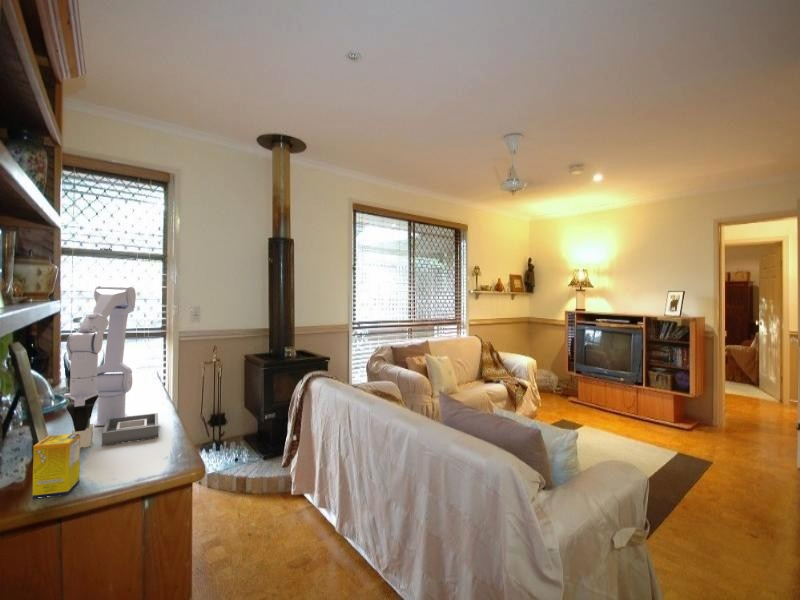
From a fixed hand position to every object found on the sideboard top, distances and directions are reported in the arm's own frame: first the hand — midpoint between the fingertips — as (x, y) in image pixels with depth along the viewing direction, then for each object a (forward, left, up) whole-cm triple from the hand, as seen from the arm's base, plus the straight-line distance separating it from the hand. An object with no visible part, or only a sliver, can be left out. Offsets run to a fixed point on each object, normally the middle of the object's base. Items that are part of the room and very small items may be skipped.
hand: (82, 426), depth 105 cm
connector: (0, 0, -5) cm, 5 cm away
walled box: (-4, +11, -5) cm, 13 cm away
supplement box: (+28, -1, -5) cm, 28 cm away
